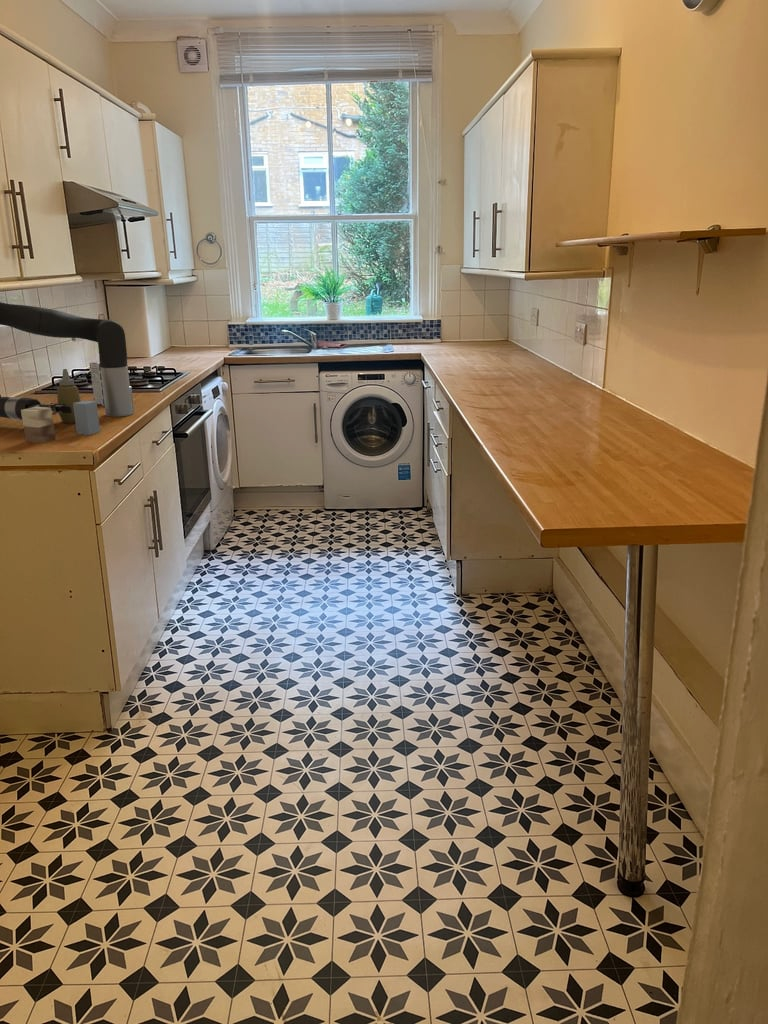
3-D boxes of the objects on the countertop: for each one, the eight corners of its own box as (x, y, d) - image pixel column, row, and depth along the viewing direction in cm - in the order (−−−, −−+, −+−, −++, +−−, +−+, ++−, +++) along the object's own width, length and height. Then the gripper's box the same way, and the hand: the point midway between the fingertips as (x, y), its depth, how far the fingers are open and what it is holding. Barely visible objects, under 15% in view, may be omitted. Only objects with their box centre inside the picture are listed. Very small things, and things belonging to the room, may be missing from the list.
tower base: (41, 438, 242) (38, 422, 240) (55, 439, 240) (53, 423, 238) (26, 442, 237) (23, 426, 235) (41, 443, 234) (38, 427, 233)
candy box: (122, 399, 309) (117, 358, 304) (132, 400, 306) (127, 358, 301) (93, 404, 298) (88, 361, 293) (104, 406, 295) (98, 362, 290)
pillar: (88, 431, 251) (84, 400, 248) (100, 432, 250) (96, 401, 247) (77, 434, 247) (72, 403, 244) (89, 435, 245) (85, 404, 242)
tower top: (38, 422, 240) (36, 406, 239) (53, 423, 238) (51, 407, 237) (23, 426, 235) (20, 410, 233) (38, 427, 233) (35, 411, 231)
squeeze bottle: (55, 421, 267) (48, 369, 261) (78, 418, 272) (71, 366, 266) (65, 424, 261) (58, 371, 256) (88, 421, 267) (81, 369, 261)
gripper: (4, 400, 248) (43, 404, 243) (38, 394, 261) (75, 397, 255) (7, 423, 251) (46, 427, 245) (41, 416, 263) (78, 419, 257)
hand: (61, 412), depth 250 cm, fingers open, 8 cm apart
